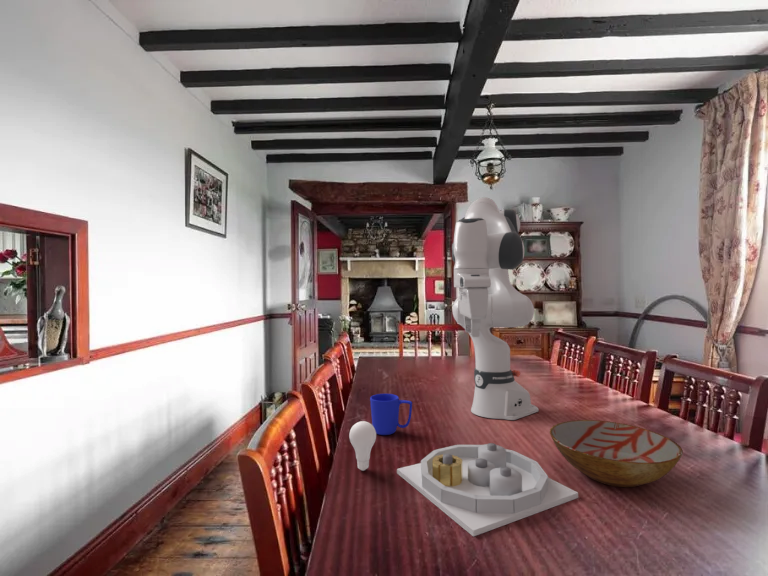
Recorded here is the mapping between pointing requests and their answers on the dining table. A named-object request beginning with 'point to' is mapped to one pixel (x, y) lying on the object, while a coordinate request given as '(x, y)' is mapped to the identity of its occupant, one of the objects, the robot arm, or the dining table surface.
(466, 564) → the dining table surface
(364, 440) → the lightbulb
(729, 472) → the dining table surface
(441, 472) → the wooden octagonal ring
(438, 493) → the carrier board
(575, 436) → the bowl
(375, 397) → the mug
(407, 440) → the dining table surface
